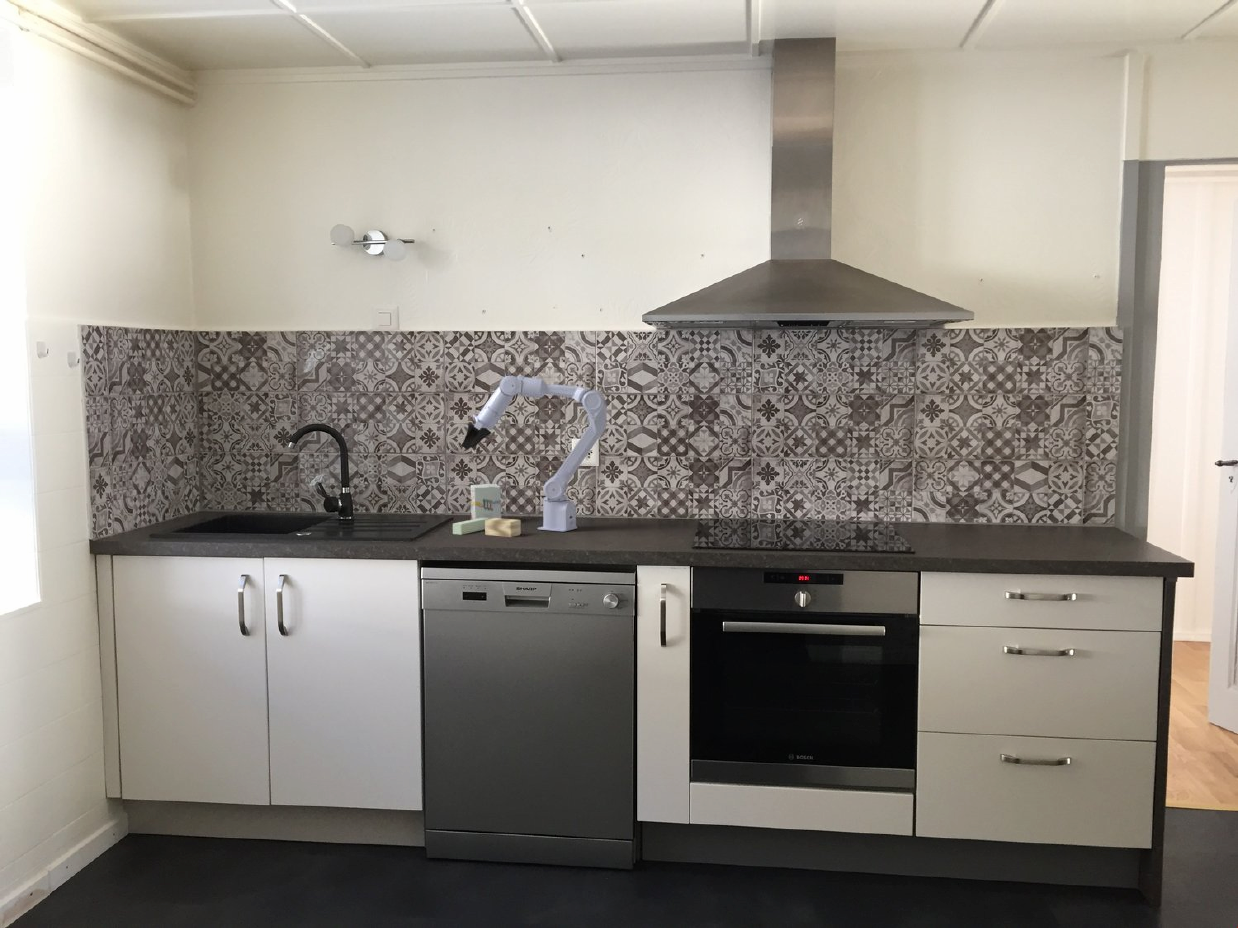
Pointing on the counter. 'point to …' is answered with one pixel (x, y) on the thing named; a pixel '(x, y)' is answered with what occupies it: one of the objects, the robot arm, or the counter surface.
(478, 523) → the rail
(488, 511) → the ink box
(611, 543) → the counter surface
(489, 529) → the block
